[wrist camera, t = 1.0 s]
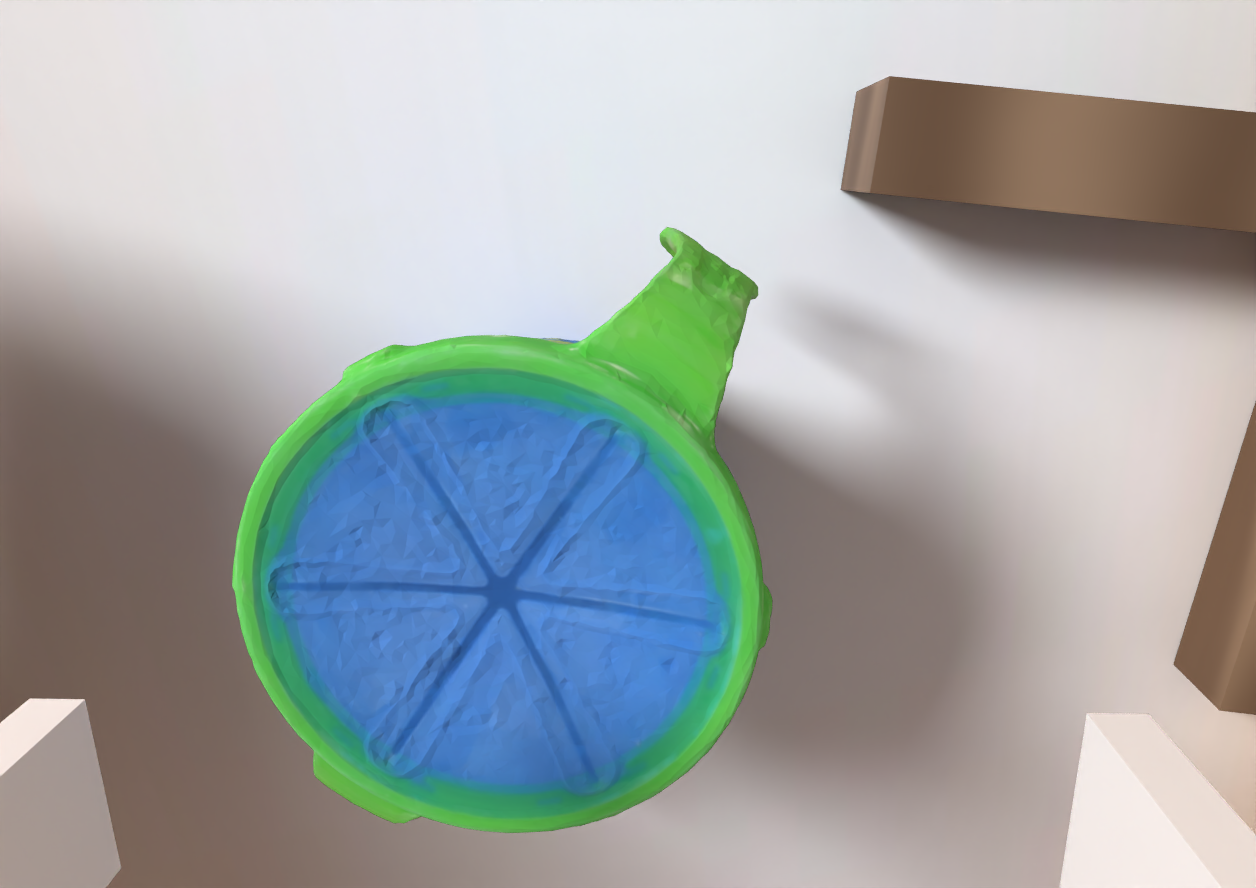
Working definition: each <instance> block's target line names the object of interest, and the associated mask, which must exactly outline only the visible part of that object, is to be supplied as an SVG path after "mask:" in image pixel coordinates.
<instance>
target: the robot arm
mask: <svg viewBox="0 0 1256 888" xmlns="http://www.w3.org/2000/svg"><path fill="white" fill-rule="evenodd" d="M120 869H121V864H120V860H119V855H118V850H117V846H116V841H115V836H114V832H113V827H112V822H111V818H110V813H109V808H108V804H107V799H106V794H105V790H104V785H103V780H102V776H101V771H100V766H99V762H98V757H97V752H96V748H95V743H94V738H93V734H92V729H91V724H90V720H89V715H88V710H87V706H86V701H85V699H28V700H27V701H26V702H25V703H24V704H22V705H21V706H20V707H19V708H18V709H16V710H15V711H14V712H13V713H12V714H10V715H9V716H8V717H7V718H6V719H4V720H3V721H2V722H1V723H0V888H106V887H107V886H108V885H109V883H110V882H111V881H112V879H113V878H114V877H115V876H116V874H117V873H118V872H119V870H120ZM1059 888H1256V835H1255V834H1254V833H1253V831H1252V830H1251V829H1250V828H1249V827H1248V826H1247V825H1246V824H1245V822H1244V821H1243V820H1242V819H1241V818H1240V817H1239V816H1238V814H1237V813H1236V812H1235V811H1234V810H1233V809H1232V808H1231V807H1230V805H1229V804H1228V803H1227V802H1226V801H1225V800H1224V799H1223V797H1222V796H1221V795H1220V794H1219V793H1218V792H1217V791H1216V790H1215V788H1214V787H1213V786H1212V785H1211V784H1210V783H1209V782H1208V781H1207V779H1206V778H1205V777H1204V776H1203V775H1202V774H1201V773H1200V771H1199V770H1198V769H1197V768H1196V767H1195V766H1194V765H1193V764H1192V762H1191V761H1190V760H1189V759H1188V758H1187V757H1186V756H1185V755H1184V753H1183V752H1182V751H1181V750H1180V749H1179V748H1178V747H1177V745H1176V744H1175V743H1174V742H1173V741H1172V740H1171V739H1170V738H1169V736H1168V735H1167V734H1166V733H1165V732H1164V731H1163V730H1162V728H1161V727H1160V726H1159V725H1158V724H1157V723H1156V722H1155V721H1154V719H1153V718H1152V717H1151V716H1150V715H1149V714H1132V713H1087V716H1086V722H1085V728H1084V735H1083V741H1082V747H1081V754H1080V760H1079V766H1078V773H1077V779H1076V786H1075V792H1074V798H1073V805H1072V811H1071V817H1070V824H1069V830H1068V836H1067V843H1066V849H1065V856H1064V862H1063V868H1062V875H1061V881H1060V887H1059Z"/></svg>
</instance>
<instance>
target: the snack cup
mask: <svg viewBox="0 0 1256 888" xmlns="http://www.w3.org/2000/svg"><path fill="white" fill-rule="evenodd" d="M660 242H661V244H662V246H663V247H664V248H665V249H666V250H667V251H668V252H669V253H670V254H671V255H672V256H673V259H672V260H671V261H670V262H669V264H668V265H666V266H665V267H664V268H663V269H662V270H661V271H660V272H659V273H658V274H657V275H656V276H655V277H654V278H653V279H652V280H651V281H650V283H649V284H648V285H647V286H646V287H645V289H643V290H642V291H641V292H640V293H639V294H638V295H637V296H636V297H635V298H634V299H633V300H632V301H631V302H630V303H629V304H627V305H626V306H625V307H623V308H622V309H621V310H619V311H618V312H616V314H615V315H614V316H613V317H612V318H611V319H610V320H609V321H607V322H606V323H605V324H604V325H602V326H601V327H599V328H598V329H596V330H595V331H594V332H593V333H592V334H590V335H589V336H588V337H587V338H585V339H584V340H582V341H570V340H563V339H556V338H543V339H538V338H527V337H518V336H509V335H497V336H496V335H480V336H464V337H457V338H449V339H443V340H438V341H434V342H430V343H426V344H421V345H417V346H403V345H391V346H388V347H386V348H384V349H381V350H379V351H377V352H375V353H373V354H370V355H368V356H366V357H365V358H363V359H361V360H359V361H358V362H356V363H354V364H352V365H350V366H349V367H348V368H347V369H345V371H344V372H343V378H342V380H341V381H340V382H339V383H338V384H337V385H336V386H335V387H333V388H332V389H331V390H330V391H328V392H327V393H326V394H324V395H323V396H322V397H320V398H319V399H318V400H317V401H315V402H314V403H313V404H312V405H311V406H310V407H309V408H308V409H307V410H306V411H305V412H303V413H302V414H301V415H300V416H299V417H298V419H297V420H296V421H295V422H294V423H293V424H292V425H290V426H289V427H288V428H287V430H286V431H285V433H284V434H282V435H281V436H280V437H279V438H278V439H277V440H276V442H275V443H274V444H273V445H272V446H271V449H270V451H269V453H268V455H267V456H266V458H265V459H264V461H263V463H262V465H261V467H260V469H259V471H258V473H257V475H256V477H255V480H254V482H253V484H252V486H251V489H250V491H249V493H248V496H247V500H246V503H245V507H244V510H243V514H242V517H241V521H240V525H239V529H238V534H237V539H236V549H235V556H234V564H233V579H232V587H233V589H234V591H235V596H236V603H237V613H238V616H239V619H240V625H241V630H242V634H243V637H244V640H245V643H246V647H247V650H248V653H249V655H250V657H251V659H252V661H253V665H254V669H255V671H256V673H257V675H258V677H259V679H260V680H261V682H262V684H263V686H264V687H265V689H266V691H267V693H268V694H269V696H270V698H271V699H272V701H273V703H274V704H275V705H276V707H277V708H278V710H279V711H280V712H281V714H282V715H283V717H284V718H285V719H286V721H287V722H288V723H289V725H290V726H291V727H292V728H293V730H294V731H295V732H296V733H297V734H298V736H299V737H300V738H301V739H302V740H303V741H305V742H306V743H307V744H308V745H309V746H310V747H311V748H312V750H313V751H314V756H313V767H314V774H315V776H316V778H317V779H318V780H320V781H321V782H322V783H323V784H324V785H326V786H327V787H329V788H330V789H332V790H333V791H335V792H336V793H338V794H339V795H341V796H342V797H344V798H346V799H347V800H349V801H350V802H352V803H353V804H355V805H357V806H359V807H361V808H363V809H365V810H367V811H369V812H371V813H372V814H374V815H376V816H378V817H381V818H383V819H385V820H388V821H390V822H392V823H406V822H408V821H410V820H413V819H417V818H419V817H421V816H422V817H425V818H428V819H431V820H434V821H438V822H441V823H445V824H449V825H453V826H457V827H462V828H467V829H473V830H480V831H490V832H503V833H523V832H540V831H553V830H558V829H564V828H568V827H573V826H582V825H585V824H588V823H591V822H595V821H599V820H602V819H604V818H607V817H611V816H615V815H617V814H619V813H621V812H623V811H625V810H627V809H629V808H631V807H633V806H635V805H637V804H639V803H641V802H643V801H645V800H647V799H649V798H651V797H653V796H655V795H656V794H658V793H660V792H661V791H662V790H664V789H665V788H666V787H668V786H669V785H671V784H672V783H673V782H675V781H676V780H677V779H679V778H680V777H682V776H683V775H684V774H686V773H687V772H688V771H689V770H690V769H691V768H692V767H693V766H694V765H695V764H696V763H697V762H698V761H699V760H700V759H701V758H702V757H703V756H704V755H705V754H706V753H708V751H709V750H710V749H711V748H712V746H713V745H714V744H715V742H716V741H717V740H718V738H719V737H720V735H721V734H722V732H723V731H724V730H725V728H726V727H727V726H728V725H729V723H730V721H731V719H732V717H733V716H734V714H735V712H736V710H737V708H738V706H739V704H740V703H741V701H742V698H743V696H744V694H745V692H746V690H747V687H748V685H749V682H750V679H751V677H752V673H753V670H754V667H755V664H756V660H757V656H758V651H759V650H760V649H761V648H762V647H764V646H765V644H766V640H767V637H768V634H769V628H770V616H771V612H772V597H771V594H770V592H769V590H768V588H767V586H766V585H765V584H764V583H763V575H762V563H761V558H760V552H759V547H758V543H757V539H756V535H755V530H754V527H753V524H752V521H751V518H750V515H749V513H748V510H747V507H746V504H745V502H744V499H743V497H742V495H741V492H740V490H739V488H738V485H737V483H736V481H735V480H734V478H733V476H732V474H731V472H730V470H729V469H728V467H727V465H726V464H725V462H724V461H723V459H722V458H721V456H720V455H719V453H718V452H717V450H716V446H715V437H714V429H715V426H716V418H717V414H718V411H719V407H720V404H721V402H722V399H723V395H724V391H725V386H726V382H727V378H728V376H729V373H730V371H731V369H732V367H733V357H734V352H735V349H736V347H737V345H738V343H739V339H740V336H741V332H742V329H743V325H744V322H745V317H746V312H747V308H748V306H749V303H750V300H751V299H755V298H756V297H757V296H758V287H757V285H756V284H755V282H753V281H752V280H751V279H750V278H748V277H747V276H746V275H745V274H743V273H742V272H740V271H739V270H737V269H734V268H731V267H730V266H729V265H727V264H726V263H725V262H724V261H722V260H721V259H720V258H719V257H717V256H715V255H714V254H712V253H710V252H708V251H707V250H705V249H704V248H703V247H702V246H701V245H700V244H699V243H698V242H696V241H695V240H693V239H692V238H690V237H689V236H687V235H686V234H684V233H683V232H681V231H679V230H676V229H674V228H669V227H667V228H666V229H664V230H663V231H662V232H661V233H660Z"/></svg>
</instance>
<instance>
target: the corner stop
mask: <svg viewBox="0 0 1256 888" xmlns="http://www.w3.org/2000/svg"><path fill="white" fill-rule="evenodd" d="M841 190H847V191H856V192H865V193H875V194H884V195H894V196H904V197H914V198H923V199H933V200H943V201H952V202H962V203H972V204H982V205H991V206H1001V207H1011V208H1020V209H1030V210H1040V211H1050V212H1059V213H1069V214H1079V215H1088V216H1098V217H1108V218H1118V219H1127V220H1137V221H1147V222H1157V223H1166V224H1176V225H1186V226H1195V227H1205V228H1215V229H1225V230H1234V231H1244V232H1254V233H1256V113H1255V112H1245V111H1234V110H1224V109H1214V108H1204V107H1194V106H1184V105H1174V104H1164V103H1154V102H1144V101H1134V100H1124V99H1114V98H1103V97H1093V96H1083V95H1073V94H1063V93H1053V92H1043V91H1033V90H1023V89H1013V88H1003V87H993V86H983V85H972V84H962V83H952V82H942V81H932V80H922V79H912V78H902V77H892V76H889V77H887V78H885V79H883V80H881V81H879V82H876V83H874V84H872V85H870V86H868V87H866V88H864V89H861V90H859V91H857V92H856V98H855V104H854V110H853V117H852V123H851V129H850V135H849V141H848V148H847V154H846V160H845V166H844V172H843V179H842V185H841ZM1174 665H1175V666H1176V667H1177V668H1178V669H1179V670H1180V671H1181V672H1182V673H1183V674H1184V675H1185V676H1186V677H1187V678H1188V679H1189V680H1190V681H1191V682H1192V683H1193V684H1194V685H1195V686H1196V687H1197V688H1198V689H1199V690H1200V691H1201V692H1202V693H1203V694H1204V695H1205V696H1206V697H1207V698H1208V699H1209V700H1210V701H1211V702H1212V703H1213V704H1214V705H1215V706H1216V707H1217V708H1218V709H1219V710H1220V711H1229V712H1237V713H1246V714H1254V715H1256V403H1255V406H1254V409H1253V412H1252V415H1251V419H1250V422H1249V425H1248V428H1247V431H1246V435H1245V438H1244V441H1243V444H1242V447H1241V451H1240V454H1239V457H1238V460H1237V463H1236V466H1235V470H1234V473H1233V476H1232V479H1231V482H1230V486H1229V489H1228V492H1227V495H1226V498H1225V502H1224V505H1223V508H1222V511H1221V514H1220V518H1219V521H1218V524H1217V527H1216V530H1215V534H1214V537H1213V540H1212V543H1211V546H1210V550H1209V553H1208V556H1207V559H1206V562H1205V566H1204V569H1203V572H1202V575H1201V578H1200V581H1199V585H1198V588H1197V591H1196V594H1195V597H1194V601H1193V604H1192V607H1191V610H1190V613H1189V617H1188V620H1187V623H1186V626H1185V629H1184V633H1183V636H1182V639H1181V642H1180V645H1179V649H1178V652H1177V655H1176V658H1175V661H1174Z"/></svg>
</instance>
